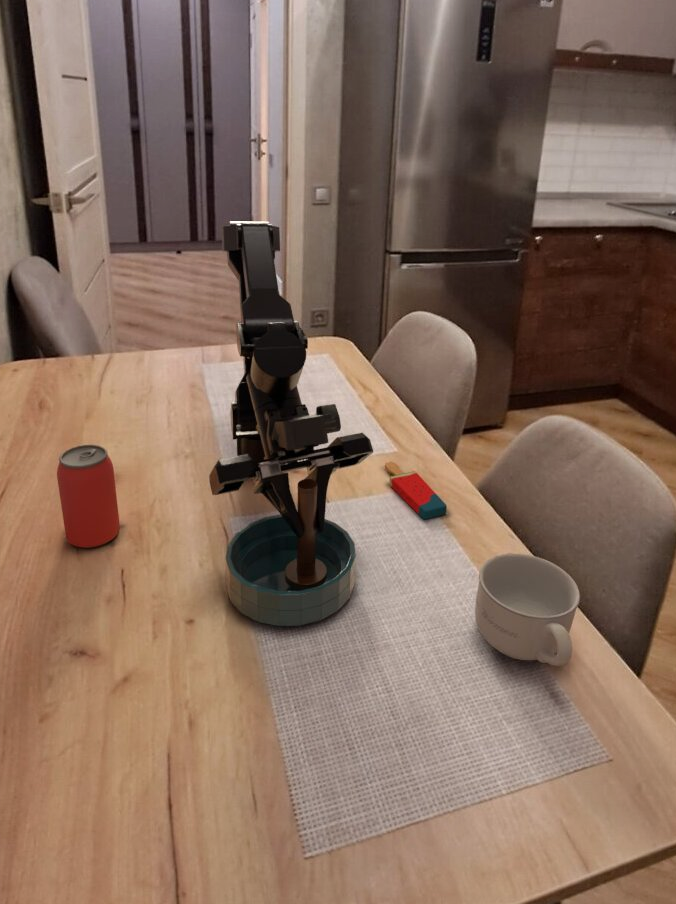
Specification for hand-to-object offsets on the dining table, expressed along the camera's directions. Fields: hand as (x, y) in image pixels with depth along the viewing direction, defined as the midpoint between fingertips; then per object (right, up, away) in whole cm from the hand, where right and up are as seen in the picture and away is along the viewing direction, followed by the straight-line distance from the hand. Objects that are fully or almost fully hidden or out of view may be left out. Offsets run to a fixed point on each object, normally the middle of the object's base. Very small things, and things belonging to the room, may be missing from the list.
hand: (311, 534), depth 76 cm
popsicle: (+12, 0, +26) cm, 29 cm away
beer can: (-30, -3, +12) cm, 32 cm away
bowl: (-3, -7, +5) cm, 9 cm away
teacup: (+24, -12, -2) cm, 27 cm away
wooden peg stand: (-1, -6, +4) cm, 7 cm away
